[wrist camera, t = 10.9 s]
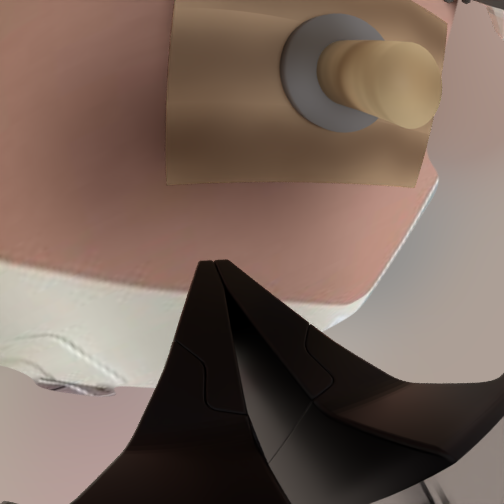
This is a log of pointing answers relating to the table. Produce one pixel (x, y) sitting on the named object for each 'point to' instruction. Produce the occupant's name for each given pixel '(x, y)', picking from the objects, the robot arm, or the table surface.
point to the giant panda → (492, 13)
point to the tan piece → (357, 76)
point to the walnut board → (277, 97)
